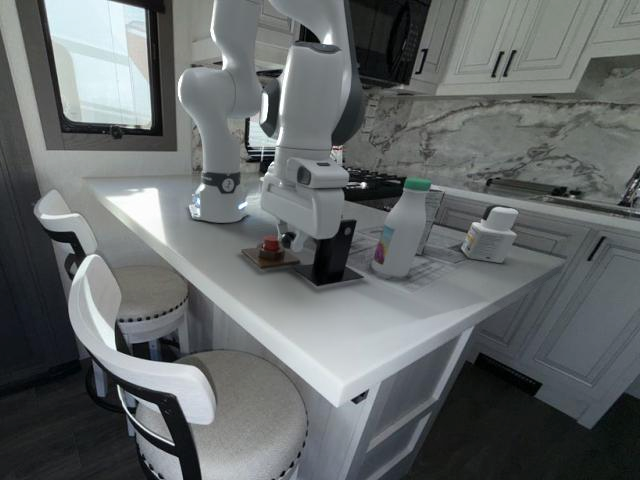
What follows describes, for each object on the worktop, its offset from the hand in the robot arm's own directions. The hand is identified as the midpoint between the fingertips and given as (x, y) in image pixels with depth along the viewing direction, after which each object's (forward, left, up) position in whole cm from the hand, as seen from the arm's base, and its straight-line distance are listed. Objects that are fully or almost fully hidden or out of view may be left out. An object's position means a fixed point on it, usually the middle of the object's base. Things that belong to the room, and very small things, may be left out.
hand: (289, 246), depth 58 cm
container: (+3, +60, -8) cm, 60 cm away
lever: (0, +5, 0) cm, 5 cm away
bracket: (0, +11, -8) cm, 13 cm away
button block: (-11, +3, -8) cm, 14 cm away
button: (-11, +3, -5) cm, 12 cm away
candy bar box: (-8, +45, -8) cm, 46 cm away
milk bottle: (+3, +26, -8) cm, 27 cm away
